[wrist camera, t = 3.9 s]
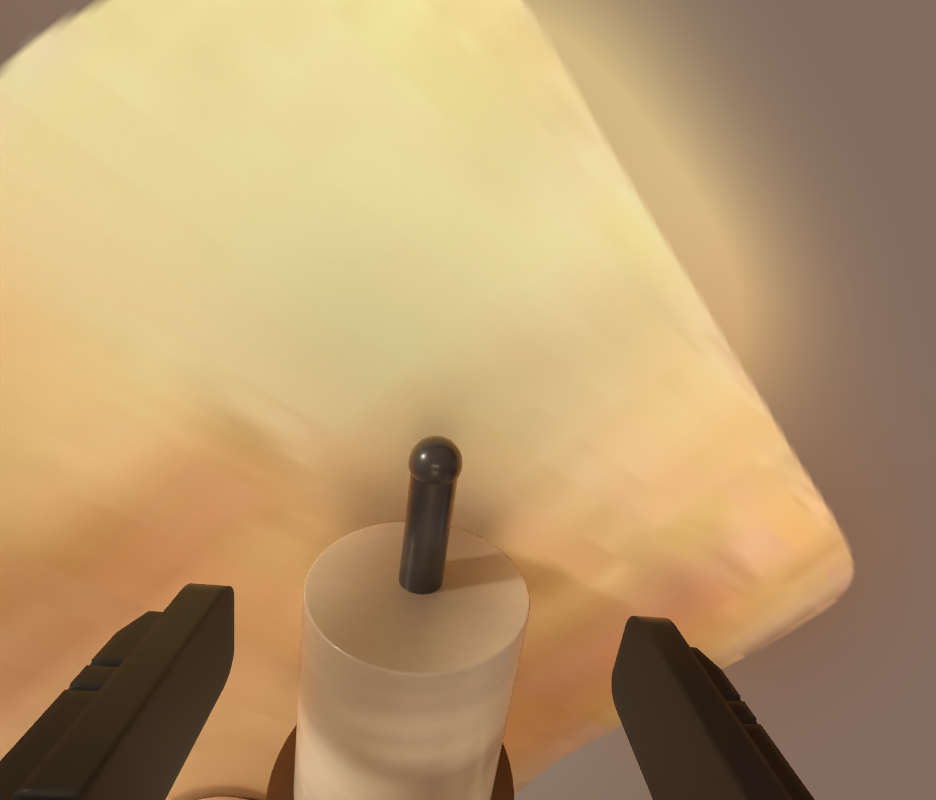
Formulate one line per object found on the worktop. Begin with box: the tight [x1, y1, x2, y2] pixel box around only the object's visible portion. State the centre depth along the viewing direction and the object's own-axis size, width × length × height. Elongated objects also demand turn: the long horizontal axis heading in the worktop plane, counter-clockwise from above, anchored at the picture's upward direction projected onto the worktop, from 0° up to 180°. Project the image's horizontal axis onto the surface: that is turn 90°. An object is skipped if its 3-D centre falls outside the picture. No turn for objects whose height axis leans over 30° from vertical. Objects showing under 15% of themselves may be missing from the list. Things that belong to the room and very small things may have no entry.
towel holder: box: [266, 436, 530, 800], centre depth 17 cm, size 10×16×10 cm, turn 172°
